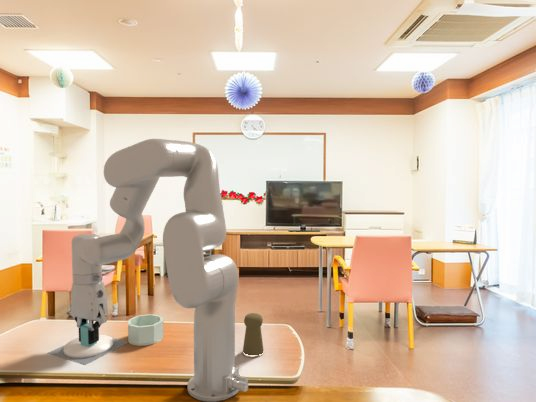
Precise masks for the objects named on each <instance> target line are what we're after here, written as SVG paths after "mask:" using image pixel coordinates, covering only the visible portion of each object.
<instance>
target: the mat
mask: <svg viewBox="0 0 536 402" xmlns="http://www.w3.org/2000/svg"><path fill="white" fill-rule="evenodd" d="M112 338H113V337H112ZM113 341H114V345H113V347H112V348H111V349H110V350H108V351H107V352H105V353H103V354H100V355H97V356H93V357H88V358H71V357H67V356H66V355H64V350H63V348H64V346H65V345H66V344H64V345H62V346H60V347H58V348H55V349H52V350H51V351H49V352H47V354H49V355H51V356H55V357H58V358H62V359H65V360H68V361H71V362H74V363H78V364H82V365H84V366H87V365H89V364H91V363H92V362H94V361H96V360H98V359H100V358H103V357H104V356H105V355H108V354H109V353H111V352H113V351H115V350H117V349H119V348H121V347H123V346H125V345H127V344H130V343H129V342H128V341H125V340H121V339H117V338H113ZM86 364H87V365H86Z"/></svg>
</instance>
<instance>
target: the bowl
mask: <svg viewBox="0 0 536 402" xmlns="http://www.w3.org/2000/svg"><path fill="white" fill-rule="evenodd" d="M127 334H128V335H127V339H128V340H127V342H129V343H128V344H130V345H133V346H139V347H140V346H142V347H144V346H151V345H154V344H156V343H159V342H160V341H162V339H163V338H164V337H165V336H164V318H163V316H162V315H158V314H153V313H149V314H139V315H136V316H134V317H131V318H130V319H127Z"/></svg>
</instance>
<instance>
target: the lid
mask: <svg viewBox="0 0 536 402" xmlns="http://www.w3.org/2000/svg"><path fill="white" fill-rule="evenodd" d="M80 330H81V342H79V337H77V338H75V339H71V340H70V341H68V342H67V343H66V344H64V345H65V346H64V345H63V346H64V348H63V350H64V355H66V356H67V357H71V358H88V357H93V356H97V355H100V354H103V353H105V352H107V351H108V350H110V349H111V348H112V347H113V345H114V341H113V337H111V336H109V335H106V334H99V341H97V342H95V343H93V344H91V345H90V344H88V331H89V330H90V329H89V322H88V323H87V324H85V325H82V326H80Z"/></svg>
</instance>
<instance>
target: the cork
mask: <svg viewBox="0 0 536 402" xmlns="http://www.w3.org/2000/svg"><path fill="white" fill-rule="evenodd" d="M243 322H244V326H245V333H244V339H243V345H242V347H243V348H242V353H243V352H244V353H245V354H248V355H259V354H262V353H263V351H264V341H263V336H262V335H263V334H262V325H263V322H264V321H263V316H262V315H261V314H260V313H256V312H251V313H248V314H246V315H245V317H244V319H243ZM264 352H265V351H264Z"/></svg>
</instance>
